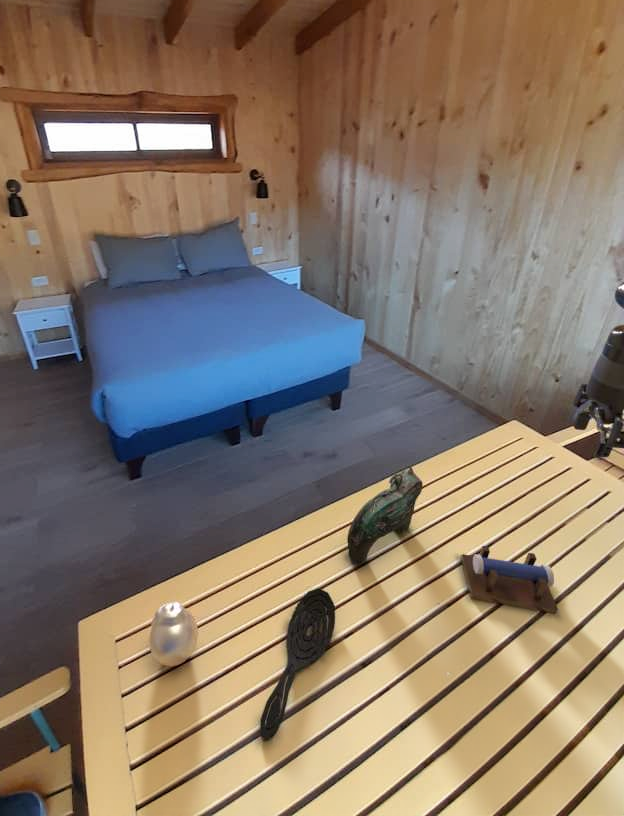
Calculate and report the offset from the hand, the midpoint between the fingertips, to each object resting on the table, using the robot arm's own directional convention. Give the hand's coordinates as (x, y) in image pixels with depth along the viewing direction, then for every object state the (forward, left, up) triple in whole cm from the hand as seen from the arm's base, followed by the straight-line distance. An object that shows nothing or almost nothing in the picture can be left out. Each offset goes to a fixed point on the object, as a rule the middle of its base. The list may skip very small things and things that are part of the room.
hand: (589, 441), depth 85 cm
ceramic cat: (+41, +11, -27) cm, 50 cm away
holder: (+15, +17, -27) cm, 35 cm away
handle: (+15, +17, -23) cm, 33 cm away
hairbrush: (+57, +39, -27) cm, 74 cm away
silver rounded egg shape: (+80, +41, -27) cm, 94 cm away
